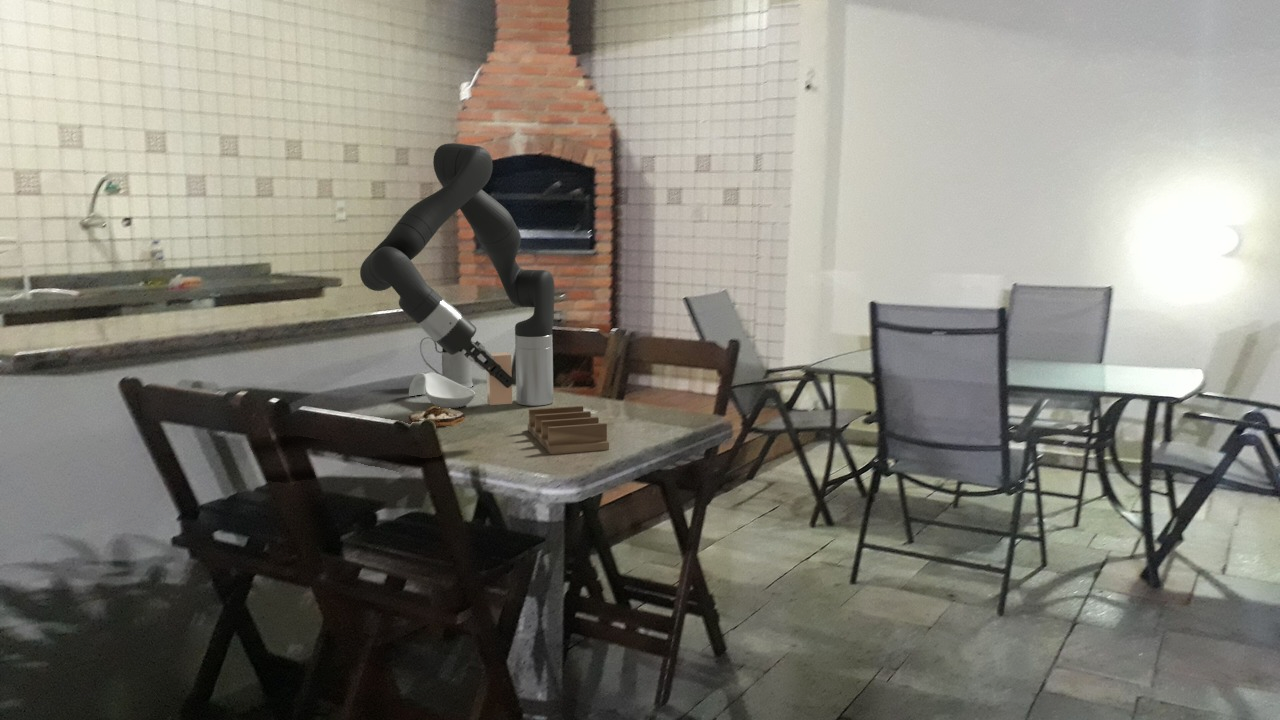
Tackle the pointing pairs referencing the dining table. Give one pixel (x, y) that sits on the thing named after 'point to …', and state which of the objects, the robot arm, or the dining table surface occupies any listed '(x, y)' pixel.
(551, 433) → the walnut rack
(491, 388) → the clay block
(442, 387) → the spoon rest
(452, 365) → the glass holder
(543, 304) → the robot arm
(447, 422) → the pie
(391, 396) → the dining table surface
